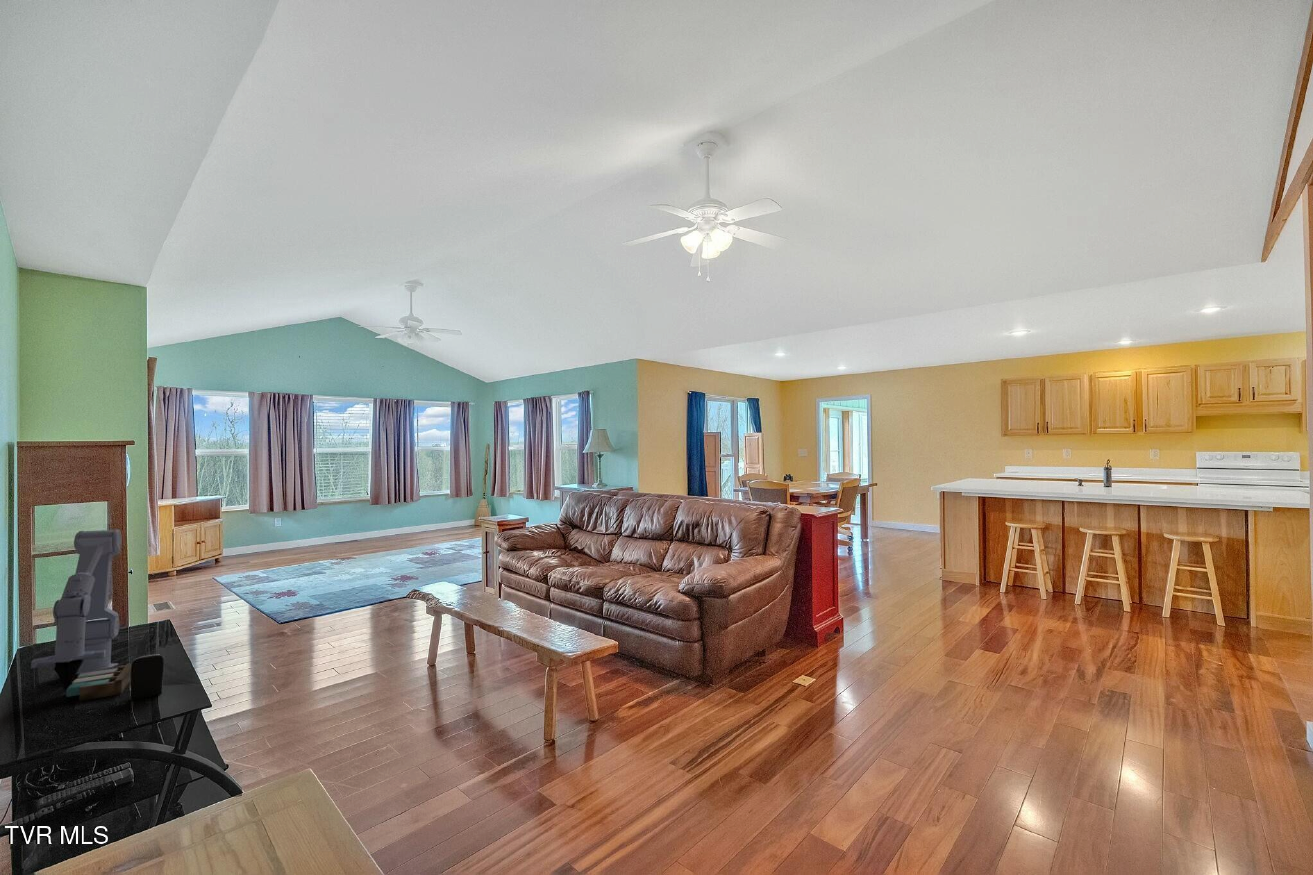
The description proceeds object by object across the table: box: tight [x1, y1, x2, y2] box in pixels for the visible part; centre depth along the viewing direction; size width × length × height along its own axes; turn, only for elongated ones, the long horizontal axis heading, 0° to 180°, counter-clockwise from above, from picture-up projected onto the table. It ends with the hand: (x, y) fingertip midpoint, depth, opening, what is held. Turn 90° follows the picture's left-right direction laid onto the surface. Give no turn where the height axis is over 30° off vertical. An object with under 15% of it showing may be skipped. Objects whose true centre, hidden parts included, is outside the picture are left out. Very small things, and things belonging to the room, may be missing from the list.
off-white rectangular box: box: [72, 673, 114, 685], centre depth 161 cm, size 8×3×2 cm, turn 124°
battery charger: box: [129, 652, 165, 701], centre depth 158 cm, size 7×4×11 cm, turn 133°
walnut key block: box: [78, 662, 132, 701], centre depth 163 cm, size 8×16×4 cm, turn 34°
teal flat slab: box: [66, 679, 110, 698], centre depth 157 cm, size 8×3×2 cm, turn 124°
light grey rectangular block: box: [76, 668, 118, 679], centre depth 166 cm, size 8×3×2 cm, turn 124°
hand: (68, 688), depth 159 cm, fingers closed
